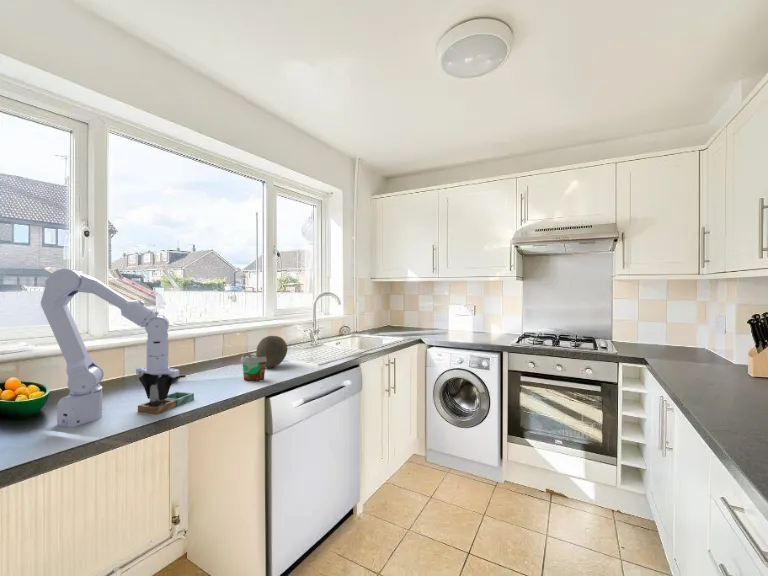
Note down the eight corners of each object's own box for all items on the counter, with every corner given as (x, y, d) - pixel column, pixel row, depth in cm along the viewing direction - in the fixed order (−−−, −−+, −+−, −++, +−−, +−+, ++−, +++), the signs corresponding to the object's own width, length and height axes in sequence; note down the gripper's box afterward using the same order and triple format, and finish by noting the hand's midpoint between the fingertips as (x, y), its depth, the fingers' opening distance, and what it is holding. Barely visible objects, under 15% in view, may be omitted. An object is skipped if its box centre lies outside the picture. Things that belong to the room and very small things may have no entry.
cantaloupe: (278, 371, 164) (279, 338, 164) (250, 369, 166) (250, 337, 166) (291, 364, 178) (291, 334, 178) (265, 363, 180) (265, 333, 180)
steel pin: (157, 412, 108) (157, 385, 108) (146, 410, 109) (146, 384, 109) (167, 407, 112) (168, 382, 112) (157, 406, 113) (157, 381, 113)
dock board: (155, 418, 106) (155, 408, 106) (136, 415, 108) (136, 406, 108) (194, 401, 121) (194, 393, 121) (177, 399, 123) (177, 391, 123)
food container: (233, 379, 149) (234, 355, 149) (245, 376, 154) (246, 353, 154) (255, 383, 143) (255, 359, 143) (266, 380, 149) (266, 356, 148)
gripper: (187, 353, 113) (186, 396, 113) (149, 351, 116) (149, 392, 116) (168, 358, 106) (168, 403, 106) (129, 355, 109) (129, 399, 109)
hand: (157, 398), depth 111 cm, fingers closed on steel pin, 4 cm apart
